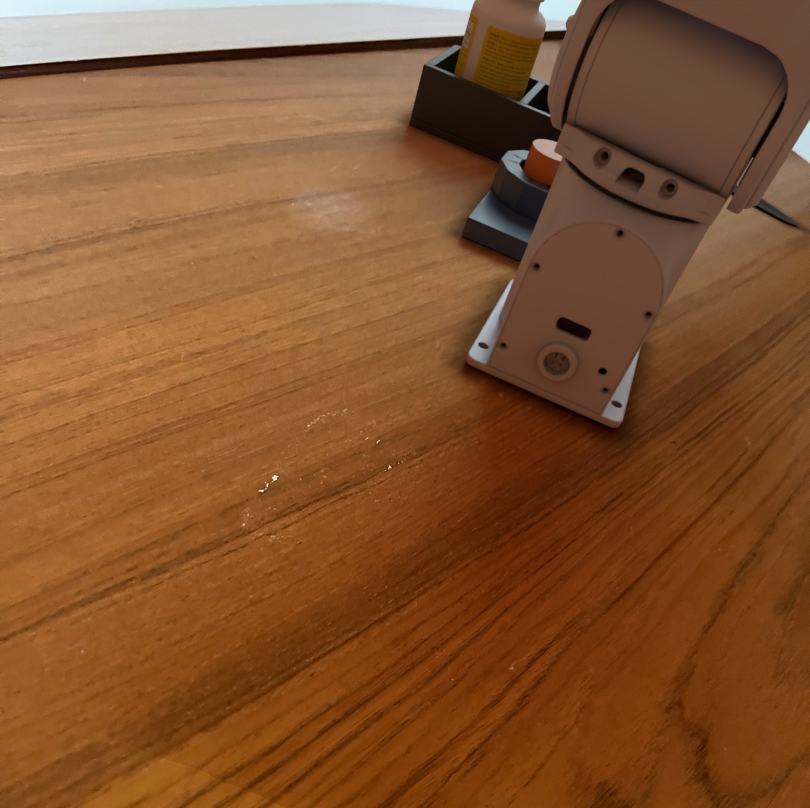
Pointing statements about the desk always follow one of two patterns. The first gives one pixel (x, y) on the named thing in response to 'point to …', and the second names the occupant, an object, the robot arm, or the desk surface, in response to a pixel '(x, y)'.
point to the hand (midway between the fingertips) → (726, 90)
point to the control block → (508, 208)
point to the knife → (772, 210)
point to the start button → (542, 161)
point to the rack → (479, 111)
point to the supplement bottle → (501, 45)
